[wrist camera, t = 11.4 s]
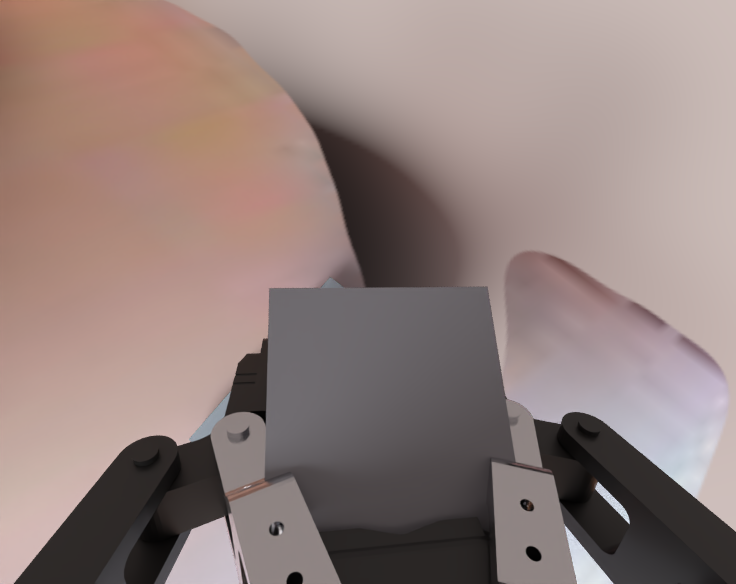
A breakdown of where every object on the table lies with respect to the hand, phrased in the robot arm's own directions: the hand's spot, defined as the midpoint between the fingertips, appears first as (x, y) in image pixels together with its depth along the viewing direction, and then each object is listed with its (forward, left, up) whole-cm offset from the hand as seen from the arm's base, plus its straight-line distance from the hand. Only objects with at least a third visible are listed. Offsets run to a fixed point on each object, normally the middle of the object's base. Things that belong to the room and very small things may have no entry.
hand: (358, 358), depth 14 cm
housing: (+1, -1, -4) cm, 5 cm away
